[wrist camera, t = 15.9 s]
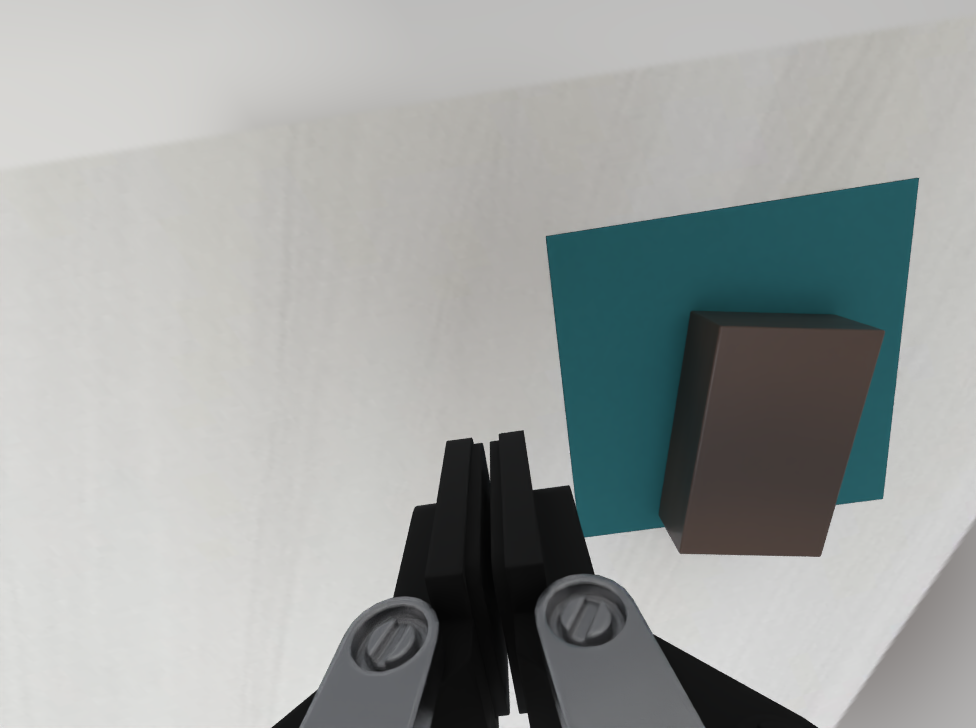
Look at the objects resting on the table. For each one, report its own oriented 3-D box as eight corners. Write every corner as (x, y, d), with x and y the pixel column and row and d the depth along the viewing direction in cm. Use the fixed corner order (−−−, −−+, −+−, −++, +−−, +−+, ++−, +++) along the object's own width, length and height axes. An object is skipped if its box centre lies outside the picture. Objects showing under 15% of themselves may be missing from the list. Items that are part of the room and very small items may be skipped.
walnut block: (689, 310, 18) (720, 326, 16) (835, 314, 18) (887, 330, 16) (657, 515, 21) (679, 554, 19) (784, 518, 21) (821, 557, 19)
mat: (545, 236, 18) (545, 236, 18) (914, 178, 17) (919, 177, 17) (579, 535, 22) (580, 538, 22) (879, 496, 21) (883, 499, 21)
